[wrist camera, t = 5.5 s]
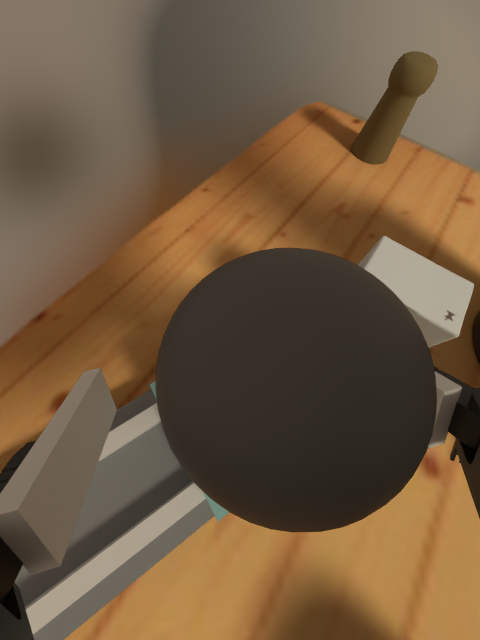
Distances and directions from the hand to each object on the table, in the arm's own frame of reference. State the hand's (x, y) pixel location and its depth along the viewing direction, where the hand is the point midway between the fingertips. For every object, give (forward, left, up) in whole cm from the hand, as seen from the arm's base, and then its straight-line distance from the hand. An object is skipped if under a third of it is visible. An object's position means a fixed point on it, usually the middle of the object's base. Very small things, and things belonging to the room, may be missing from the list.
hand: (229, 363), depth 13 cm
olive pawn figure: (-39, -19, -9) cm, 44 cm away
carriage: (+1, +2, -6) cm, 6 cm away
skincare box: (-11, +2, -9) cm, 15 cm away
